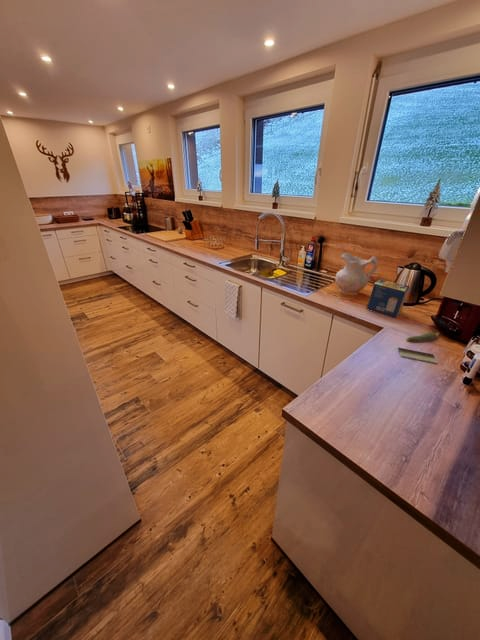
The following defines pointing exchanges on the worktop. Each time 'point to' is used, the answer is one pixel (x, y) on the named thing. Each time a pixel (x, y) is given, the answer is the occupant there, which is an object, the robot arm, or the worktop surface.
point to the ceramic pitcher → (354, 274)
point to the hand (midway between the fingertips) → (460, 271)
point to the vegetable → (423, 337)
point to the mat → (417, 355)
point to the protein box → (387, 298)
